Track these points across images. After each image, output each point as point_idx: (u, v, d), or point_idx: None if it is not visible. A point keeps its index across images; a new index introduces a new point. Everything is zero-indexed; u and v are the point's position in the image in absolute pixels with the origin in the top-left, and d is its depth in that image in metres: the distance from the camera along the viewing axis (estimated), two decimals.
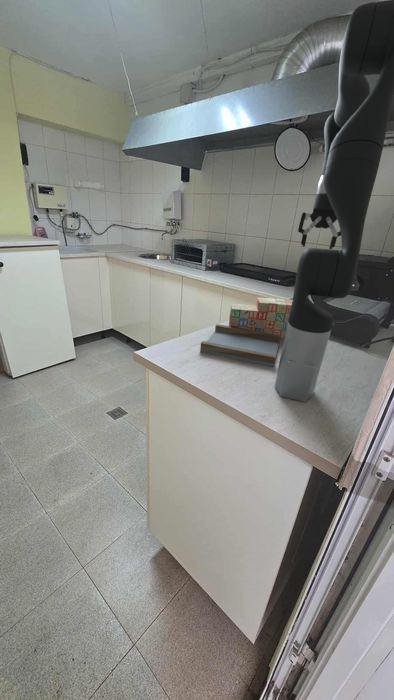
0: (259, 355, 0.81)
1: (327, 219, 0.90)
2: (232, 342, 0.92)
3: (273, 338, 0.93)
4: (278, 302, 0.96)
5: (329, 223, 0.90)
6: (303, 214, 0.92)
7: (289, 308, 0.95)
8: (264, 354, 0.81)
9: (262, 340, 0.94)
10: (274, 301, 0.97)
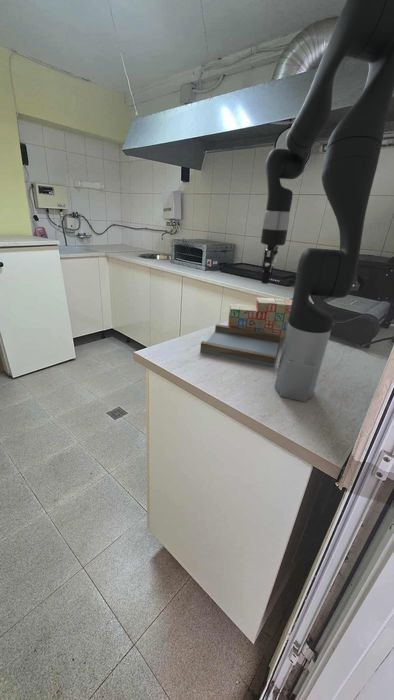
0: (259, 355, 0.81)
1: (277, 253, 0.91)
2: (232, 342, 0.92)
3: (273, 338, 0.93)
4: (277, 302, 0.96)
5: (276, 256, 0.92)
6: (273, 252, 0.84)
7: (288, 308, 0.95)
8: (264, 354, 0.81)
9: (262, 340, 0.94)
10: (273, 301, 0.97)
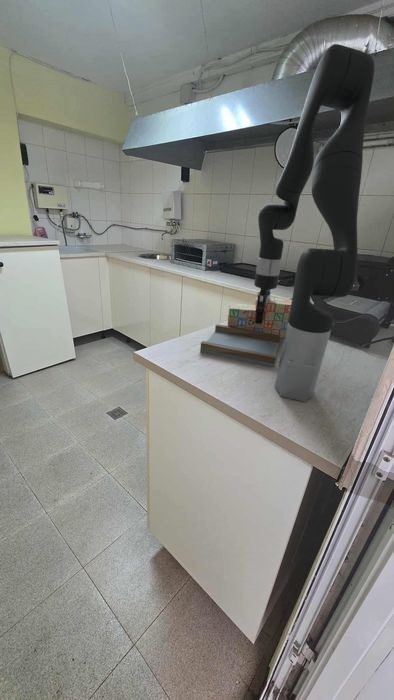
0: (259, 355, 0.81)
1: (270, 294, 0.97)
2: (232, 342, 0.92)
3: (273, 338, 0.93)
4: (277, 302, 0.96)
5: (269, 297, 0.98)
6: (265, 297, 0.90)
7: (288, 308, 0.95)
8: (264, 354, 0.81)
9: (262, 340, 0.94)
10: (273, 301, 0.97)
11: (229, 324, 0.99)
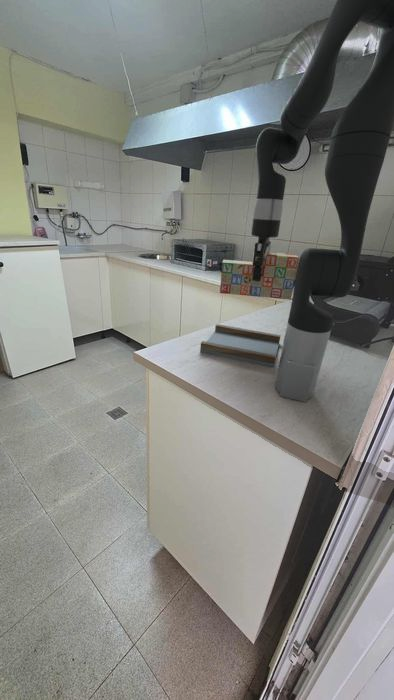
0: (259, 355, 0.81)
1: (270, 246, 0.82)
2: (232, 342, 0.92)
3: (273, 338, 0.93)
4: (278, 254, 0.81)
5: (269, 250, 0.83)
6: (264, 246, 0.76)
7: (291, 261, 0.80)
8: (264, 354, 0.81)
9: (262, 340, 0.94)
10: (273, 254, 0.82)
11: (222, 282, 0.85)
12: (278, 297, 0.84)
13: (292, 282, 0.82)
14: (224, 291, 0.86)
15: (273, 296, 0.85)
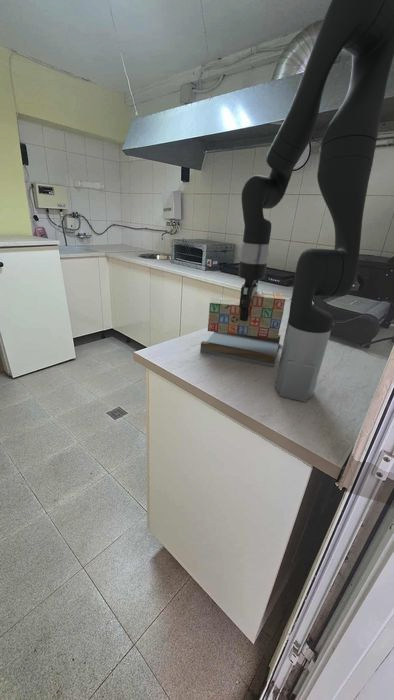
0: (259, 355, 0.81)
1: (257, 286, 0.82)
2: (232, 342, 0.92)
3: (273, 338, 0.93)
4: (264, 295, 0.82)
5: (256, 290, 0.84)
6: (250, 290, 0.76)
7: (277, 302, 0.80)
8: (264, 354, 0.81)
9: (262, 340, 0.94)
10: (260, 294, 0.82)
11: (209, 321, 0.85)
12: (265, 336, 0.85)
13: (279, 322, 0.83)
14: (212, 329, 0.86)
15: (260, 335, 0.85)
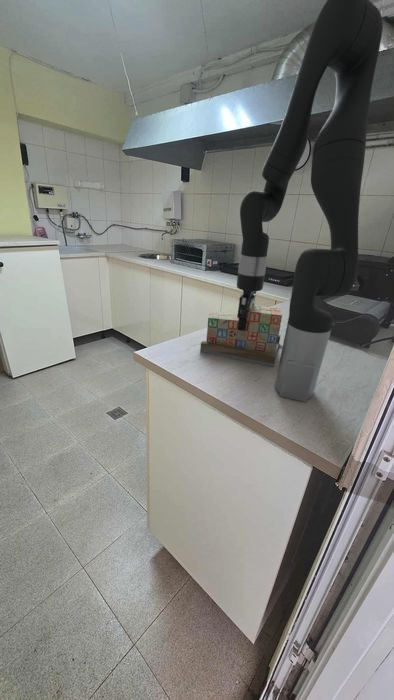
0: (259, 355, 0.81)
1: (255, 297, 0.84)
2: None
3: None
4: (262, 311, 0.83)
5: (254, 300, 0.85)
6: (248, 300, 0.77)
7: (274, 318, 0.82)
8: (264, 354, 0.81)
9: None
10: (257, 309, 0.84)
11: (208, 335, 0.87)
12: (263, 350, 0.87)
13: (276, 337, 0.84)
14: None
15: (258, 349, 0.87)
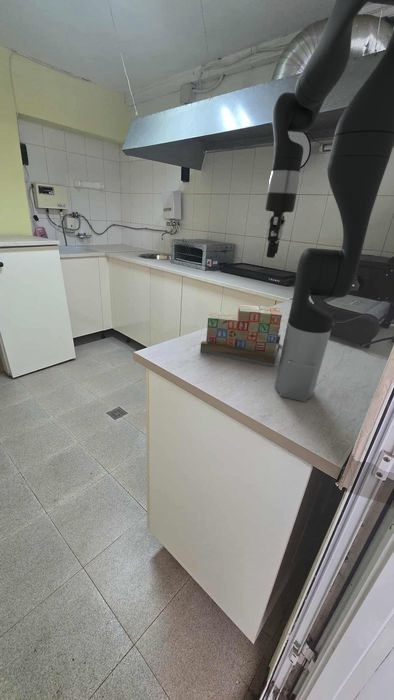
0: (259, 355, 0.81)
1: (284, 222, 0.79)
2: None
3: None
4: (261, 310, 0.83)
5: None
6: (280, 219, 0.73)
7: (274, 318, 0.82)
8: (264, 354, 0.81)
9: None
10: (257, 309, 0.84)
11: (208, 335, 0.87)
12: (262, 350, 0.87)
13: (276, 337, 0.84)
14: None
15: (257, 349, 0.87)
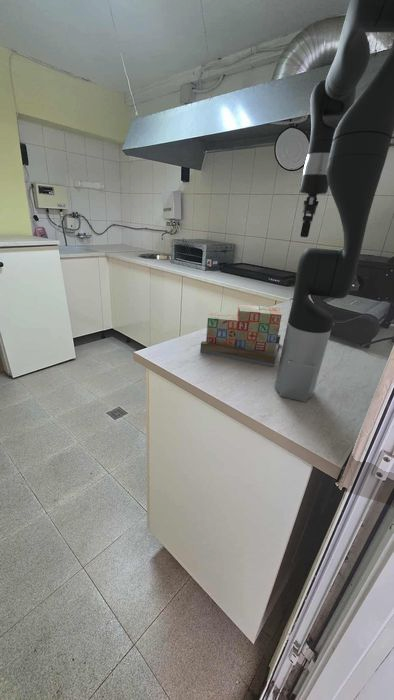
0: (259, 355, 0.81)
1: None
2: None
3: None
4: (261, 310, 0.83)
5: None
6: (316, 199, 0.77)
7: (274, 317, 0.82)
8: (264, 354, 0.81)
9: None
10: (257, 309, 0.84)
11: (207, 335, 0.87)
12: (262, 350, 0.87)
13: (275, 336, 0.85)
14: None
15: (257, 349, 0.87)
